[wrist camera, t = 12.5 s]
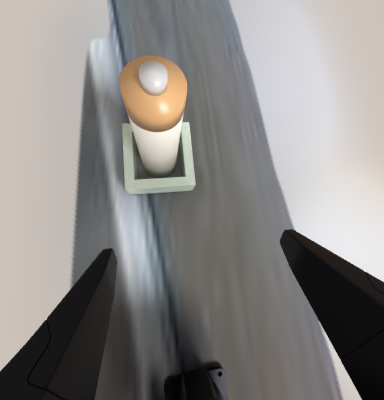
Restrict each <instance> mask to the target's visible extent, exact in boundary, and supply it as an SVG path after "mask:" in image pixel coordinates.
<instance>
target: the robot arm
mask: <svg viewBox="0 0 384 400" xmlns="http://www.w3.org/2000/svg"><path fill="white" fill-rule="evenodd" d="M280 244H281V247H282V249H283V252H284V254H285V256H286V259H287V261H288V263H289V266H290V268H291V270H292V272H293V274H294V276H295V278H296V279H297V281H298V283H299V285H300V287H301V289H302V290H303V292H304V294H305V296H306V298H307V299H308V301H309V303H310V305H311V307H312V309H313V310H314V312H315V314H316V316H317V318H318V320H319V321H320V323H321V325H322V327H323V329H324V331H325V332H326V334H327V336H328V338H329V340H330V341H331V343H332V345H333V347H334V349H335V351H336V352H337V354H338V356H339V358H340V359H341V362H342V364H343V365H344V367H345V369H346V371H347V373H348V374H349V376H350V378H351V380H352V382H353V384H354V385H355V387H356V389H357V391H358V393H359V395H360V396H361V398H362V400H384V282H382V281H381V280H379V279H377V278H375V277H373V276H372V275H370V274H369V273H367V272H364V271H363V270H361V269H360V268H358V267H356V266H355V265H353V264H351V263H350V262H347V261H346V260H344V259H343V258H341V257H339V256H338V255H336V254H334V253H332V252H331V251H329V250H327V249H326V248H324V247H322V246H320V245H318V244H317V243H315V242H314V241H312V240H310V239H308V238H307V237H305V236H303V235H301V234H300V233H298V232H296V231H295V230H293V229H288V230H284V232H283V234H282V237H281V239H280ZM116 267H117V260H116V256H115V253H114V250H113V249H112V248H109V249H104V250H102V252H101V253H100V254H99V255H98V257H97V258H96V259H95V260H94V261H93V263H92V264H91V265H90V266H89V268H88V269H87V270H86V271H85V272H84V274H83V275H82V276H81V277H80V279H79V280H78V281H77V282H76V283H75V285H74V286H73V287H72V288H71V290H70V291H69V292H68V293H67V294H66V296H65V297H64V298H63V299H62V301H61V302H60V303H59V304H58V306H57V307H56V308H55V309H54V310H53V312H52V313H51V314H50V315H49V316H48V318H47V320H45V321H44V322H43V324H42V325H41V326H40V327H39V329H38V330H37V331H36V332H35V334H34V335H33V336H32V337H31V338H30V339H29V340H28V342H27V343H26V344H25V345H24V346H23V347H22V348H21V349H20V351H19V352H18V353H17V354H16V355H15V356H14V357H13V358H12V359H11V360H10V362H9V363H8V364H7V365H6V366H5V367H4V368H3V369H2V370H1V371H0V400H94V398H95V393H96V387H97V382H98V377H99V372H100V367H101V362H102V356H103V351H104V346H105V341H106V336H107V331H108V325H109V320H110V315H111V310H112V305H113V299H114V293H115V280H116ZM219 371H221V374H218V372H219ZM168 382H170V383H171V384H170V385H167V383H168ZM164 392H165V400H228V398H227V389H226V380H225V372H224V370H223V368H222V367H221V366H218V367H213V368H208V369H206V368H203V369H199V370H194V371H189V372H184V373H183V374H180V375H175V376H170V377H167V378H166V379H165V381H164Z"/></svg>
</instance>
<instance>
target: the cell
mask: <svg viewBox="0 0 384 400" xmlns="http://www.w3.org/2000/svg"><path fill="white" fill-rule="evenodd" d="M119 86H120V91H121V94H122V97H123V101H124V104H125V107H126V110H127V114H128V117H129V120H130V124H131V127H132V130H133V133H134V137H135V140H136V143H137V147H138V150H139V153H140V156H141V160H142V163H143V166H144V169H145V171H146V172H147V174H148V175H150V176H151V177H154V178H166V177H168V176H169V175H171V174H172V173H173V171H174V169H175V165H176V158H177V152H178V145H179V139H180V133H181V126H182V120H183V113H184V107H185V100H186V94H187V82H186V78H185V76H184V74H183V72H182V71H181V70H180V68H179V67H178V66H177V65H176V64H174V63H173V62H171V61H170V60H168V59H165V58H163V57H159V56H142V57H138V58H136V59H134V60H132V61H130V62H129V63H128V64H127V65H126V66H125V67H124V68H123V70H122V72H121V75H120V79H119Z"/></svg>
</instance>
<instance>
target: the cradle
mask: <svg viewBox="0 0 384 400" xmlns="http://www.w3.org/2000/svg"><path fill="white" fill-rule="evenodd" d="M122 133H123V155H124V178H125V190H126V191H127V192H128V193H129V194H130V195H138V194H152V193H167V192H181V191H192V190H193V188H194V187H195V185H196V184H195V175H194V165H193V156H192V146H191V137H190V127H189V122H187V123H182V126H181V133H180V139H179V145H178V152H177V158H176V165H175V169H174V171H173V173H172V174H171V175H169V176H168V177H166V178H154V177H151V176H150V175H148V174H147V172H146V171H145V169H144V166H143V163H142V160H141V156H140V153H139V150H138V147H137V143H136V140H135V137H134V133H133V130H132V127H131V124H130V123H125V124H122Z"/></svg>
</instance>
